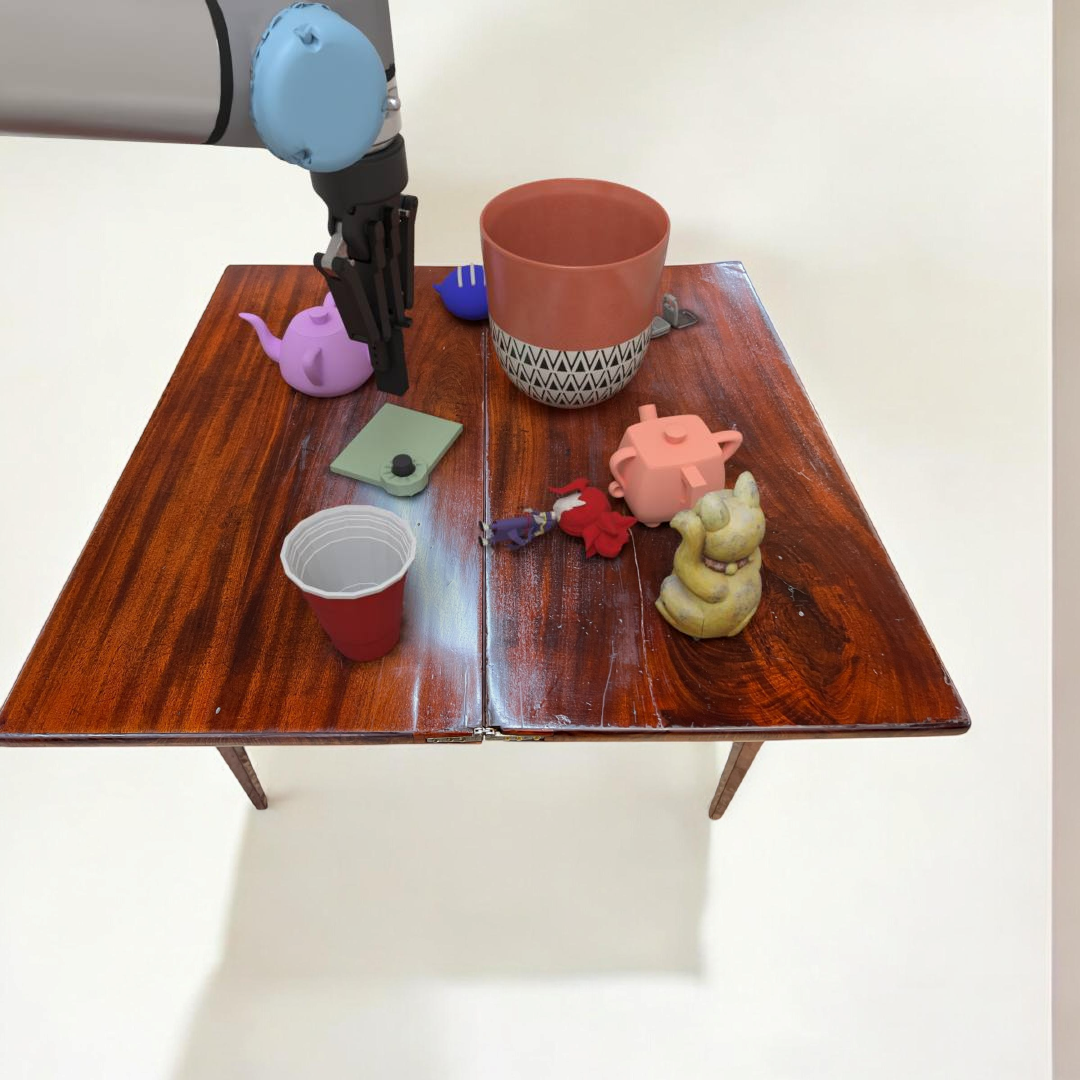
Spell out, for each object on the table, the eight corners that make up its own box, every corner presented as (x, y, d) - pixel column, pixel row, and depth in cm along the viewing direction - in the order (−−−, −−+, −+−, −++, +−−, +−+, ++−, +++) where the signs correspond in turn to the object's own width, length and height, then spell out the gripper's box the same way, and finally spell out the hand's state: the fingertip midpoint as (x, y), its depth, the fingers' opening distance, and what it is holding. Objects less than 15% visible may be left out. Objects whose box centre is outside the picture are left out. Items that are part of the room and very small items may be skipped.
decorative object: (438, 242, 114) (512, 255, 114) (436, 281, 118) (508, 293, 118) (424, 286, 107) (504, 300, 107) (423, 325, 111) (499, 338, 112)
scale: (414, 507, 89) (412, 489, 87) (324, 478, 92) (320, 461, 90) (471, 432, 97) (470, 415, 95) (386, 408, 100) (384, 391, 98)
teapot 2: (637, 449, 95) (645, 377, 88) (737, 488, 91) (753, 416, 84) (585, 511, 88) (589, 438, 81) (690, 556, 84) (704, 483, 77)
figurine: (471, 525, 86) (611, 496, 89) (492, 597, 82) (638, 564, 85) (471, 488, 80) (620, 459, 84) (494, 564, 76) (650, 530, 80)
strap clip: (648, 341, 110) (651, 312, 107) (634, 329, 112) (637, 300, 109) (700, 322, 113) (705, 293, 110) (686, 311, 115) (690, 282, 112)
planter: (526, 460, 94) (525, 284, 78) (463, 365, 106) (451, 196, 90) (680, 416, 99) (707, 243, 84) (603, 330, 111) (615, 165, 96)
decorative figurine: (708, 563, 83) (734, 446, 73) (777, 612, 79) (815, 495, 68) (641, 616, 79) (658, 499, 68) (710, 671, 75) (740, 555, 64)
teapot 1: (403, 376, 104) (394, 312, 98) (301, 421, 98) (285, 356, 92) (352, 333, 111) (341, 271, 104) (254, 373, 105) (236, 310, 98)
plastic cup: (453, 620, 79) (443, 529, 70) (377, 705, 72) (355, 617, 64) (362, 572, 82) (342, 481, 74) (283, 649, 76) (250, 559, 67)
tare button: (407, 479, 88) (405, 468, 87) (390, 474, 89) (388, 463, 88) (416, 467, 90) (415, 456, 89) (400, 462, 90) (398, 451, 89)
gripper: (350, 179, 59) (393, 440, 77) (438, 112, 68) (459, 361, 85) (260, 161, 61) (322, 419, 79) (356, 98, 70) (393, 344, 87)
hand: (393, 389), depth 82 cm, fingers closed
